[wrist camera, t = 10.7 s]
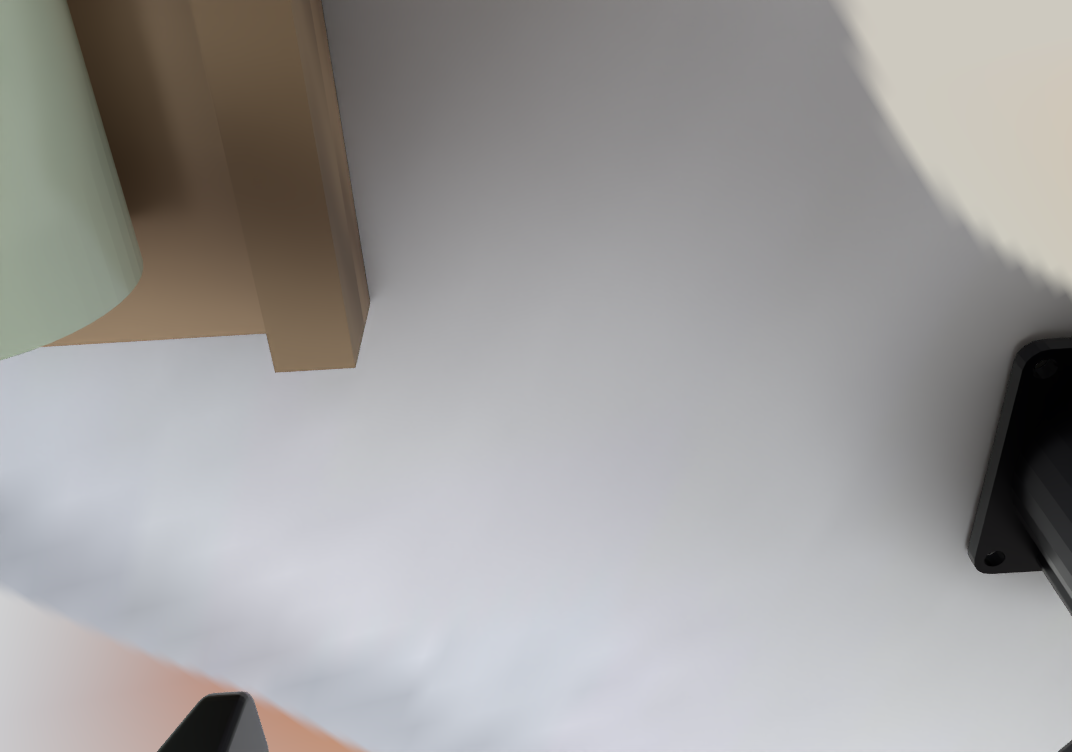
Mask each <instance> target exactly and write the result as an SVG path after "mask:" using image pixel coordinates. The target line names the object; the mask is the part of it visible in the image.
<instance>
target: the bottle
mask: <svg viewBox="0 0 1072 752" xmlns="http://www.w3.org/2000/svg"><path fill="white" fill-rule="evenodd" d="M142 272H143V259H142V256H141V252H140V249H139V245H138V242H137V239H136V235H135V232H134V228H133V225H132V221H131V218H130V215H129V211H128V208H127V204H126V201H125V198H124V194H123V191H122V187H121V184H120V181H119V177H118V174H117V170H116V167H115V164H114V160H113V157H112V153H111V150H110V147H109V143H108V140H107V136H106V133H105V130H104V126H103V123H102V119H101V116H100V113H99V109H98V106H97V102H96V99H95V96H94V92H93V89H92V85H91V82H90V79H89V75H88V72H87V68H86V65H85V62H84V58H83V55H82V51H81V48H80V45H79V41H78V38H77V34H76V31H75V27H74V24H73V21H72V17H71V14H70V10H69V7H68V4H67V0H0V360H3V359H7V358H10V357H13V356H16V355H19V354H22V353H25V352H28V351H31V350H34V349H36V348H39V347H42V346H44V345H47V344H49V343H52V342H54V341H56V340H59V339H61V338H63V337H65V336H68V335H70V334H72V333H74V332H76V331H78V330H80V329H81V328H83V327H85V326H87V325H89V324H91V323H92V322H94V321H96V320H97V319H99V318H100V317H102V316H104V315H105V314H107V313H108V312H109V311H110V310H112V309H113V308H114V307H116V306H117V305H118V304H120V303H121V302H122V301H123V300H124V299H125V298H126V297H127V296H128V295H129V294H130V293H131V292H132V290H133V289H134V288H135V286H136V285H137V283H138V282H139V280H140V278H141V276H142Z"/></svg>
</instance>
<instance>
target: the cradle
mask: <svg viewBox="0 0 1072 752" xmlns="http://www.w3.org/2000/svg"><path fill="white" fill-rule="evenodd" d="M67 4H68V7H69V10H70V14H71V17H72V21H73V24H74V27H75V31H76V34H77V38H78V41H79V45H80V48H81V51H82V55H83V58H84V62H85V65H86V68H87V72H88V75H89V79H90V82H91V85H92V89H93V92H94V96H95V99H96V102H97V106H98V109H99V113H100V116H101V119H102V123H103V126H104V130H105V133H106V136H107V140H108V143H109V147H110V150H111V153H112V157H113V160H114V164H115V167H116V170H117V174H118V177H119V181H120V184H121V187H122V191H123V194H124V198H125V201H126V204H127V208H128V211H129V215H130V218H131V221H132V225H133V228H134V232H135V235H136V239H137V242H138V245H139V249H140V252H141V256H142V259H143V272H142V276H141V278H140V280H139V282H138V283H137V285H136V286H135V288H134V289H133V290H132V292H131V293H130V294H129V295H128V296H127V297H126V298H125V299H124V300H123V301H122V302H121V303H120V304H118V305H117V306H116V307H114V308H113V309H112V310H110V311H109V312H108V313H107V314H105V315H104V316H102V317H100V318H99V319H97V320H96V321H94V322H92V323H91V324H89V325H87V326H85V327H83V328H81V329H80V330H78V331H76V332H74V333H72V334H70V335H68V336H65V337H63V338H61V339H59V340H56V341H54V342H52V343H49V344H47V345H44V346H42V347H48V346H64V345H81V344H97V343H114V342H131V341H147V340H164V339H181V338H197V337H214V336H230V335H247V334H264V333H266V335H267V339H268V344H269V348H270V352H271V357H272V361H273V365H274V370H275V372H292V371H308V370H325V369H342V368H355V367H356V363H357V359H358V354H359V350H360V345H361V341H362V337H363V332H364V328H365V324H366V319H367V315H368V310H369V306H370V300H369V293H368V287H367V281H366V275H365V269H364V262H363V256H362V250H361V244H360V238H359V231H358V225H357V219H356V213H355V207H354V200H353V194H352V188H351V182H350V176H349V169H348V163H347V157H346V151H345V145H344V138H343V132H342V126H341V120H340V114H339V107H338V101H337V95H336V89H335V83H334V77H333V70H332V64H331V58H330V52H329V46H328V39H327V33H326V27H325V21H324V15H323V8H322V2H321V0H67Z"/></svg>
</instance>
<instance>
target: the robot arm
mask: <svg viewBox="0 0 1072 752" xmlns="http://www.w3.org/2000/svg"><path fill="white" fill-rule="evenodd" d="M1046 359H1048V361H1047V363H1046V364H1045V365H1044V366H1042V367H1041V368H1037V369H1034V368H1035V366H1036V364H1038V363H1039V362H1040V361H1042V360H1046ZM991 552H994V553H992V554H990V553H991ZM988 554H990V555H988ZM968 555H969V557H970V559H971V561H972V562H973V564H974V566H975V567H976V569H977V570H978V571H980V572H982V573H987V574H997V573H1013V572H1030V571H1043V572H1044V574H1045V575H1046V577H1047V579H1048V580H1049V582H1050V583H1051V585H1052V586H1053V588H1054V589H1055V591H1056V592H1057V594H1058V595H1059V597H1060V599H1061V600H1062V602H1063V603H1064V605H1065V606H1066V608H1067V609H1068V611H1069V612H1070V614H1071V616H1072V338H1059V339H1042V340H1038V341H1033V342H1031V343H1029V344H1028V345H1026V346H1024V347H1023V348H1022V349H1021V350H1020V351H1019V352H1018V353H1017V356H1016V358H1015V360H1014V363H1013V367H1012V371H1011V375H1010V379H1009V383H1008V387H1007V392H1006V396H1005V400H1004V404H1003V408H1002V412H1001V416H1000V420H999V424H998V428H997V432H996V436H995V440H994V444H993V448H992V453H991V457H990V461H989V465H988V469H987V473H986V477H985V481H984V485H983V489H982V493H981V497H980V501H979V505H978V510H977V514H976V518H975V522H974V526H973V530H972V534H971V538H970V542H969V546H968ZM157 752H269V751H268V745H267V742H266V738H265V735H264V732H263V729H262V725H261V722H260V719H259V716H258V712H257V710H256V706H255V703H254V700H253V698H252V697H251V695H250V694H249V693H247V692H225V693H213V694H209V695H207V696H205V697H203V698H202V699H201V700H200V701H199V702H198V703H197V705H196V706H195V707H194V708H193V709H192V710H191V712H190V713H189V714H188V715H187V716H186V718H185V719H184V720H183V722H181V724H180V725H179V726H178V727H177V728H176V730H175V731H174V732H173V733H172V734H171V736H170V737H169V738H168V739H167V740H166V742H165V743H164V744H163V745H162V746H161V748H160V749H159V750H158V751H157ZM1058 752H1072V740H1071V741H1070V742H1069V743H1068V744H1067V745H1065V746H1064V747H1063V748H1062V749H1061V750H1059V751H1058Z"/></svg>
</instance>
